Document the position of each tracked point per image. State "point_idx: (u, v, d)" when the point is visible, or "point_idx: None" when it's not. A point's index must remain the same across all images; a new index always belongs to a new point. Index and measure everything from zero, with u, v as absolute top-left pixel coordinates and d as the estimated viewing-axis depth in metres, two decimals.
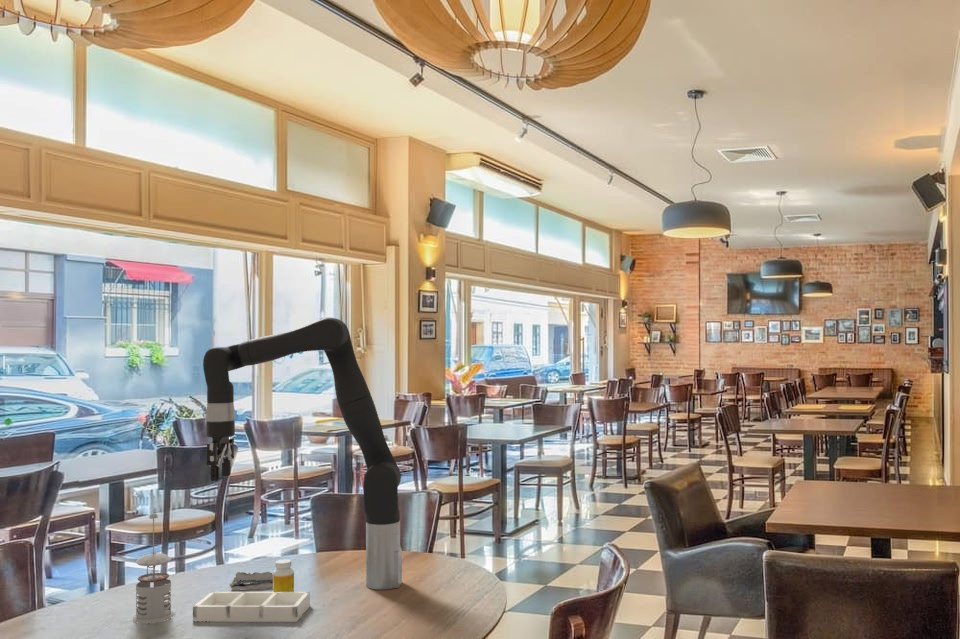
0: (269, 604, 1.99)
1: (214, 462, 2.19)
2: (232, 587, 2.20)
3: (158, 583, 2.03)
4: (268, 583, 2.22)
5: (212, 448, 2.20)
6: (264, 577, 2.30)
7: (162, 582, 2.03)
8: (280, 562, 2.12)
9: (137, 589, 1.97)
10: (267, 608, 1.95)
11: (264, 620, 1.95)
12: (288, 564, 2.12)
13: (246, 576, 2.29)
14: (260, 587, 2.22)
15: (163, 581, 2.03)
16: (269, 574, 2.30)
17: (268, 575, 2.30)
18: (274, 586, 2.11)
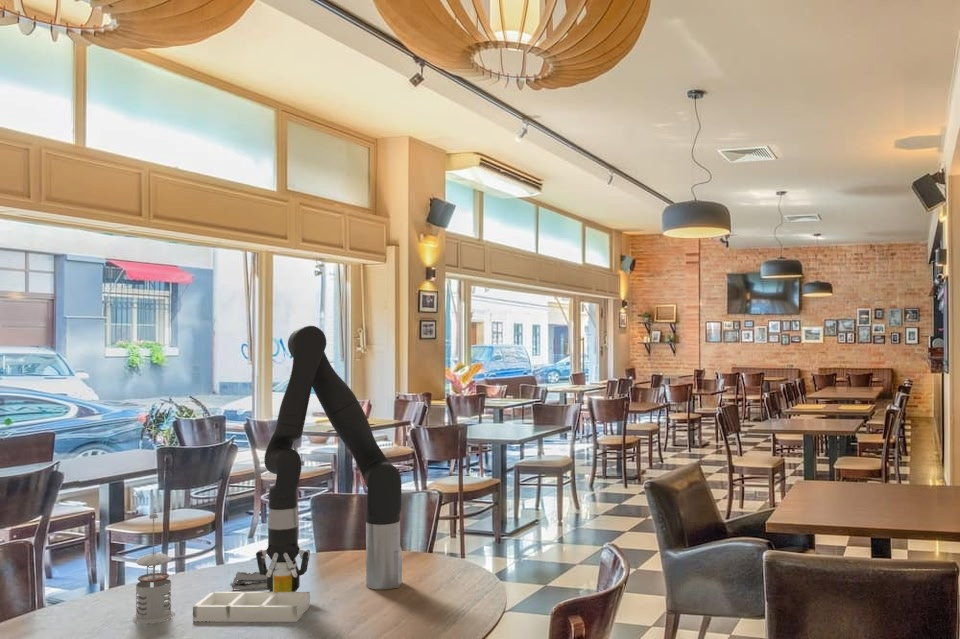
0: (269, 604, 1.99)
1: (306, 570, 2.13)
2: (233, 587, 2.21)
3: (158, 583, 2.03)
4: None
5: (308, 556, 2.13)
6: (264, 577, 2.30)
7: (162, 582, 2.03)
8: (280, 562, 2.12)
9: (137, 589, 1.97)
10: (267, 608, 1.95)
11: (264, 620, 1.95)
12: None
13: (246, 576, 2.30)
14: (261, 586, 2.22)
15: (163, 581, 2.03)
16: None
17: None
18: (274, 586, 2.11)
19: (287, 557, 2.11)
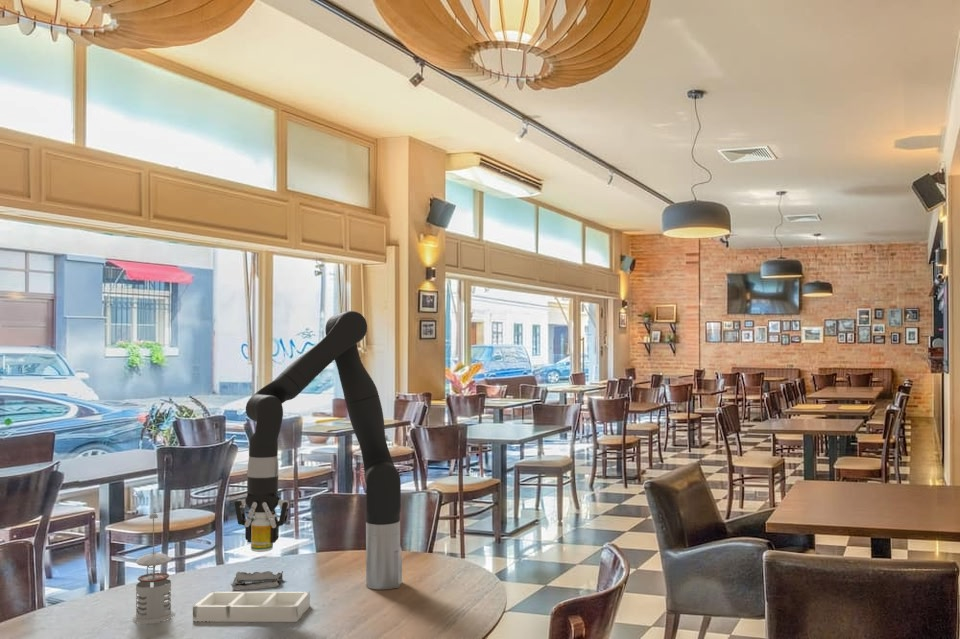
0: (269, 604, 1.99)
1: None
2: (233, 586, 2.21)
3: (158, 583, 2.03)
4: (269, 582, 2.23)
5: (288, 507, 2.07)
6: (264, 577, 2.30)
7: (162, 582, 2.03)
8: (259, 512, 2.06)
9: (137, 589, 1.97)
10: (267, 608, 1.95)
11: (264, 620, 1.95)
12: None
13: (246, 576, 2.30)
14: (261, 586, 2.22)
15: (163, 581, 2.03)
16: (269, 574, 2.30)
17: (268, 574, 2.30)
18: (252, 536, 2.05)
19: (266, 507, 2.05)
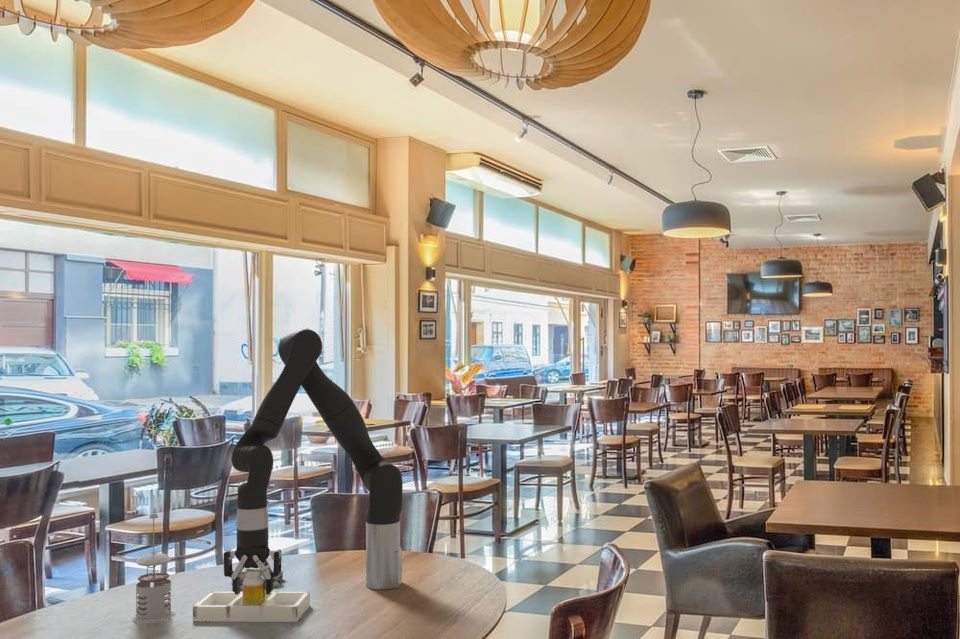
0: (269, 604, 1.99)
1: (280, 571, 2.02)
2: None
3: (158, 583, 2.03)
4: None
5: (280, 556, 2.01)
6: (265, 576, 2.31)
7: (162, 582, 2.03)
8: (250, 571, 2.00)
9: (137, 589, 1.97)
10: (267, 608, 1.95)
11: (264, 620, 1.95)
12: (259, 573, 2.00)
13: None
14: None
15: (163, 581, 2.03)
16: None
17: None
18: (244, 596, 1.99)
19: (257, 559, 1.99)
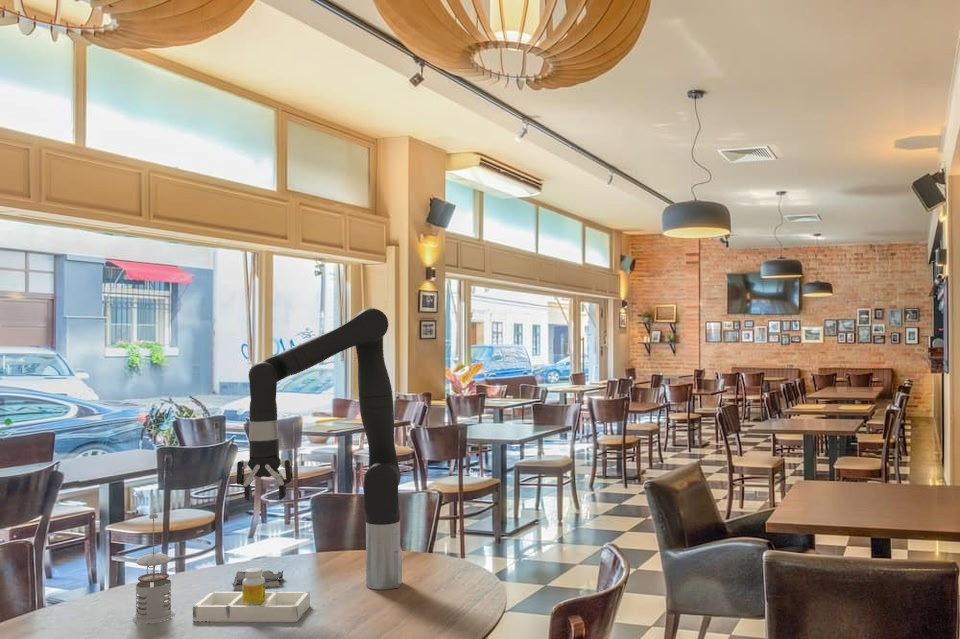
0: (269, 604, 1.99)
1: (292, 478, 2.17)
2: (235, 586, 2.21)
3: (158, 583, 2.03)
4: (271, 581, 2.23)
5: (291, 464, 2.16)
6: (265, 576, 2.31)
7: (162, 582, 2.03)
8: (250, 571, 2.00)
9: (137, 589, 1.97)
10: (267, 608, 1.95)
11: (264, 620, 1.95)
12: (259, 573, 2.00)
13: None
14: None
15: (163, 581, 2.03)
16: (269, 573, 2.31)
17: (268, 573, 2.31)
18: (244, 596, 1.99)
19: (269, 468, 2.14)
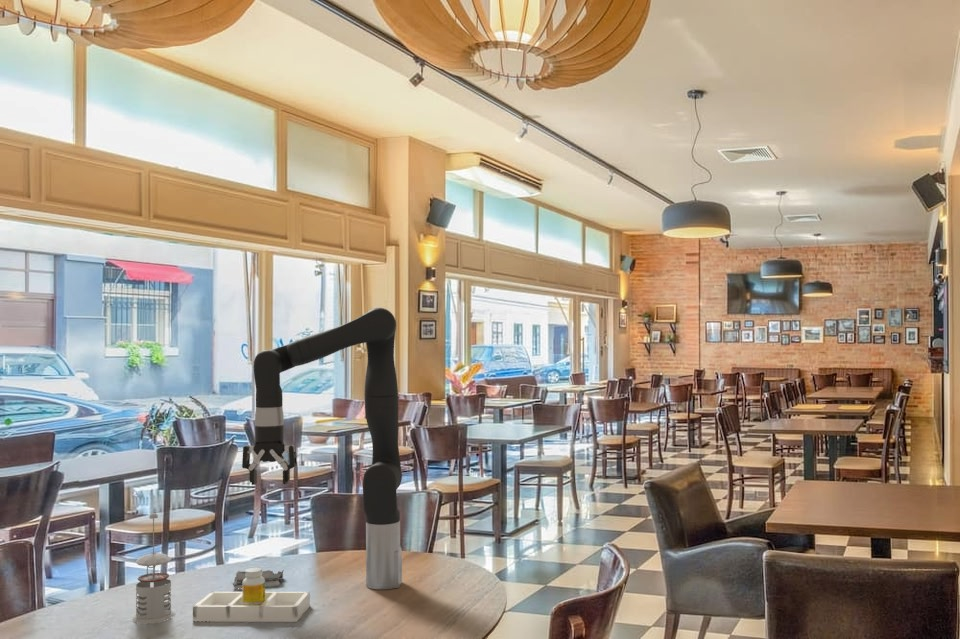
0: (269, 604, 1.99)
1: (296, 463, 2.22)
2: (235, 586, 2.21)
3: (158, 583, 2.03)
4: (271, 581, 2.24)
5: (294, 450, 2.22)
6: (265, 576, 2.31)
7: (162, 582, 2.03)
8: (250, 571, 2.00)
9: (137, 589, 1.97)
10: (267, 608, 1.95)
11: (264, 620, 1.95)
12: (259, 573, 2.00)
13: None
14: None
15: (163, 581, 2.03)
16: (269, 573, 2.31)
17: (268, 573, 2.31)
18: (244, 596, 1.99)
19: (274, 453, 2.20)
